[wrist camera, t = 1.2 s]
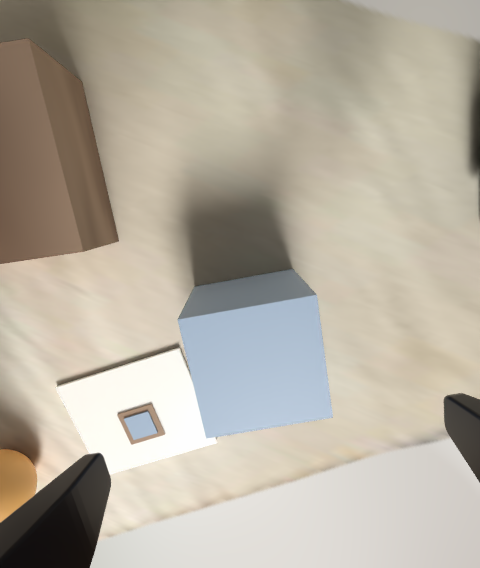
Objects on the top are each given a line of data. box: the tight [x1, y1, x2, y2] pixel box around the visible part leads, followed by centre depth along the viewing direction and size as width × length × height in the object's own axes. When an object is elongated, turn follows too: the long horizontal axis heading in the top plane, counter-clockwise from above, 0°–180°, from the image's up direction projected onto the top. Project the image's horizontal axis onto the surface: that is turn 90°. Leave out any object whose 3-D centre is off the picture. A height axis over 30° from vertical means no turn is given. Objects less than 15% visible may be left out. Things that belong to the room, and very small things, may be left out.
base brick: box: [0, 38, 119, 264], centre depth 13 cm, size 7×7×4 cm
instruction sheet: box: [56, 347, 217, 474], centre depth 18 cm, size 7×6×1 cm
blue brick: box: [178, 269, 333, 439], centre depth 15 cm, size 5×5×5 cm
